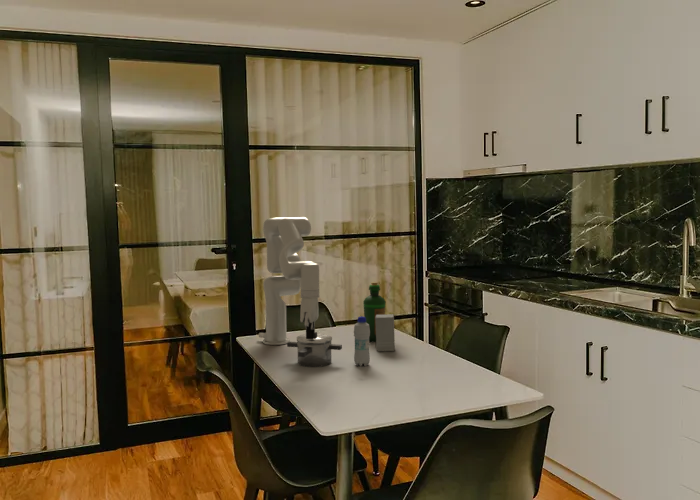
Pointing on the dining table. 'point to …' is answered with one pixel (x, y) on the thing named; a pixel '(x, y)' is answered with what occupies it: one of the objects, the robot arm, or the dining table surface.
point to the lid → (315, 339)
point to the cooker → (314, 353)
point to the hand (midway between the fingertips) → (310, 338)
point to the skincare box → (385, 332)
